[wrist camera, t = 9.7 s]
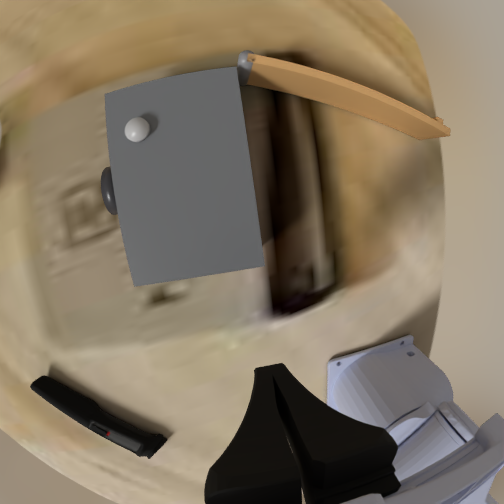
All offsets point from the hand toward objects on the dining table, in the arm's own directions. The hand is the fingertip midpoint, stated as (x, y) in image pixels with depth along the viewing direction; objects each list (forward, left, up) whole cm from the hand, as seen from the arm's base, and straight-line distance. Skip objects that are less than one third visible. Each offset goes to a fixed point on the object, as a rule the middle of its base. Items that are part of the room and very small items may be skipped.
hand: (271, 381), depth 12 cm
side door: (-9, -14, -9) cm, 19 cm away
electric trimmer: (+18, +11, -10) cm, 23 cm away
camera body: (+3, -10, -9) cm, 14 cm away
